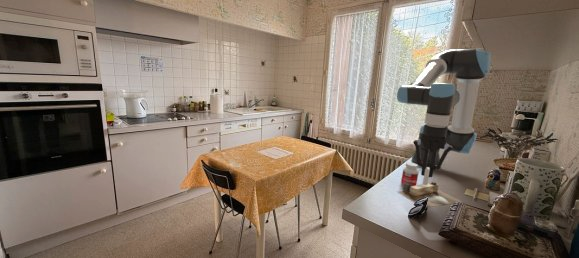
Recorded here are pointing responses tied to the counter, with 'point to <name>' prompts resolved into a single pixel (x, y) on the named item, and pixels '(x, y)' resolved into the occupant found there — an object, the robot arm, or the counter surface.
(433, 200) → the board
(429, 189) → the leg bar
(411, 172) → the pill bottle
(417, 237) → the counter surface
